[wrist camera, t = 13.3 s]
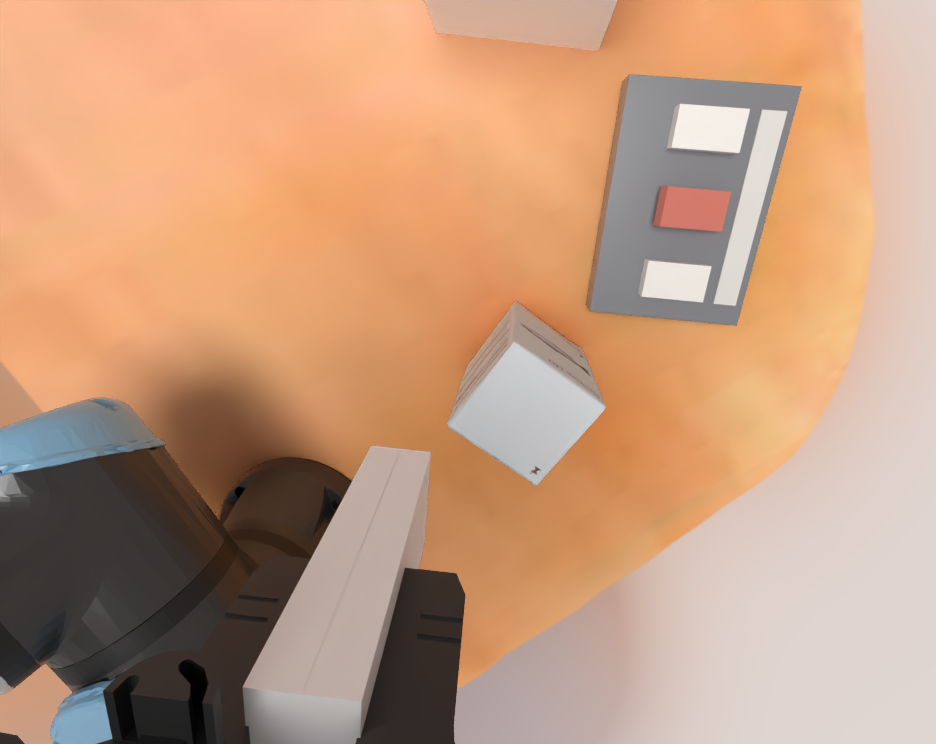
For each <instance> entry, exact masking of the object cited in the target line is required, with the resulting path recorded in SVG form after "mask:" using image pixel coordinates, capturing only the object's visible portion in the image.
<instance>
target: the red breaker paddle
mask: <svg viewBox="0 0 936 744" xmlns="http://www.w3.org/2000/svg"><path fill="white" fill-rule="evenodd" d="M730 196H731V192H729V191H718V190H707V189H696V188H684V187H673V186H661V188H660V193H659V198H658V203H657V208H656V213H655V218H654V223H653V225H654V226H660V227H672V228H684V229H696V230H708V231H721V232H722V228H723V224H724V220H725V216H726V212H727V208H728V204H729V200H730Z"/></svg>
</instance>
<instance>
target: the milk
mask: <svg viewBox="0 0 936 744" xmlns="http://www.w3.org/2000/svg"><path fill="white" fill-rule="evenodd" d="M617 1H618V0H424V2H425V5H426V7H427V10H428V13H429V16H430V19H431V21H432V24H433V27H434V30H435V33H443V34H452V35H461V36H470V37H479V38H487V39H496V40H505V41H514V42H523V43H531V44H540V45H549V46H558V47H567V48H576V49H584V50H593V51H599V48H600V45H601V43H602V40H603V38H604V35H605V32H606V30H607V27H608V25H609V22H610V19H611V17H612V14H613V12H614V9H615V7H616V4H617Z"/></svg>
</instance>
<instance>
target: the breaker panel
mask: <svg viewBox="0 0 936 744" xmlns="http://www.w3.org/2000/svg"><path fill="white" fill-rule="evenodd" d="M801 87H802V86H790V85H776V84H761V83H747V82H733V81H719V80H704V79H690V78H676V77H662V76H647V75H633V74H629V75H628V77H627V78H626V79H625V80H624V81H623V82H622V88H621V94H620V100H619V106H618V112H617V119H616V125H615V131H614V137H613V143H612V149H611V155H610V161H609V167H608V174H607V180H606V186H605V192H604V198H603V204H602V210H601V216H600V222H599V229H598V235H597V241H596V247H595V253H594V259H593V265H592V271H591V277H590V284H589V290H588V296H587V302H586V306H587V307H588V309H589V310H590V311H593V312H603V313H613V314H623V315H633V316H643V317H653V318H664V319H674V320H684V321H694V322H704V323H714V324H724V325H734V326H737V322H738V318H739V315H740V311H741V307H742V304H743V300H744V296H745V293H746V289H747V285H748V282H749V278H750V274H751V271H752V267H753V263H754V260H755V256H756V252H757V249H758V245H759V241H760V238H761V234H762V230H763V227H764V223H765V219H766V216H767V212H768V208H769V205H770V201H771V197H772V194H773V190H774V186H775V182H776V179H777V175H778V171H779V168H780V164H781V160H782V157H783V153H784V149H785V146H786V142H787V138H788V135H789V131H790V127H791V124H792V120H793V116H794V113H795V109H796V105H797V102H798V98H799V94H800V91H801ZM661 186H673V187H684V188H696V189H707V190H718V191H729V192H731V196H730V200H729V204H728V208H727V212H726V216H725V220H724V224H723V228H722V232H721V231H708V230H696V229H684V228H672V227H660V226H654V225H653V223H654V218H655V213H656V208H657V203H658V198H659V193H660V188H661Z"/></svg>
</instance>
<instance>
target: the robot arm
mask: <svg viewBox="0 0 936 744" xmlns="http://www.w3.org/2000/svg"><path fill="white" fill-rule="evenodd" d="M164 446H166V445H165V443H164V441H163V440H162V439H157V437H156V436H155V435H154V434H153V433H152V432H151V430H150V429H149V428H148V427H147V426H146V424H145V423H144V422H143V421H142V420H141V419H140V417H139V416H138V415H137V414H136V413H135V412H134V410H133V409H132V408H131V407H130V406H129V405H127V404H126V403H124V402H122V401H120V400H117V399H113V398H93V399H88V400H84V401H80V402H77V403H73V404H70V405H67V406H64V407H60V408H57V409H54V410H51V411H48V412H45V413H42V414H39V415H36V416H33V417H31V418H27V419H25V420H22V421H19V422H17V423H13V424H11V425H8V426H5V427H2V428H0V695H1V694H6V693H8V692H9V691H11V690H12V689H14V688H15V687H16V686H17V685H19V684H20V683H21V682H22V681H24V680H25V679H26V678H27V677H28V676H30V675H31V674H32V673H33V672H35V671H36V670H37V669H38V668H40V667H41V666H42V665H44V664H47V665H48V666H49V667H50V668H51V669H52V670H53V671H54V672H55V673H56V675H58V677H59V678H60V679H61V680H62V681H63V682H64V683H65V684H66V685H67V686H68V687H69V688H70V690H71V691H72V694H71V695H70V696H69V697H67V698H66V699H65V700H64V701H63V702H62V703H61V705H60V706H59V708H58V712H57V715H56V716H55V718H54V720H53V722H52V725H51V729H50V736H51V739H52V740H54V741H53V744H455V742H454V715H455V704H456V693H457V682H458V671H459V659H460V648H461V637H462V626H463V615H464V604H465V593H464V591H463V588H462V586H461V583H460V581H459V579H458V576H457V574H456V573H447V572H439V571H430V570H421V569H419V566H420V562H421V557H422V553H423V548H424V544H425V530H426V516H427V502H428V488H429V474H430V460H431V452H427V451H418V450H408V449H399V448H390V447H381V446H371V447H370V449H369V451H368V453H367V454H366V456H365V458H364V460H363V462H362V464H361V466H360V468H359V470H358V471H357V473H356V475H355V477H354V479H353V481H352V482H350V481H349V480H348V479H347V478H346V477H344V476H343V475H342V474H340V473H339V472H337V471H335V470H333V469H332V468H330V467H327V466H325V465H323V464H320V463H317V462H314V461H310V460H306V459H298V458H282V459H275V460H271V461H267V462H264V463H262V464H260V465H258V466H256V467H254V468H253V469H251V470H250V471H249V472H247V473H246V474H245V475H244V476H243V477H242V478H241V479H240V480H239V481H238V482H237V483H236V484H235V485H234V487H233V488H232V489H231V490H230V491H229V493H228V494H227V496H226V498H225V500H224V501H223V504H222V506H221V509H220V512H219V515H218V517H216V516H215V514H214V513H213V512H212V510H211V509H210V508H209V506H208V505H207V504H206V502H205V501H204V500H203V499H202V497H201V496H200V495H199V493H198V492H197V491H196V489H195V488H194V487H193V485H192V484H191V483H190V481H189V480H188V479H187V477H186V476H185V475H184V473H183V472H182V471H181V469H180V468H179V467H178V465H177V464H176V463H175V461H174V460H173V459H172V457H171V456H170V455H169V453H168V452H167V450H166V449H165V448H164ZM0 744H24V743H23V741H22V740H21V739H20V738H19V737H18V736H17V735H12V734H6V733H0Z"/></svg>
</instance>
